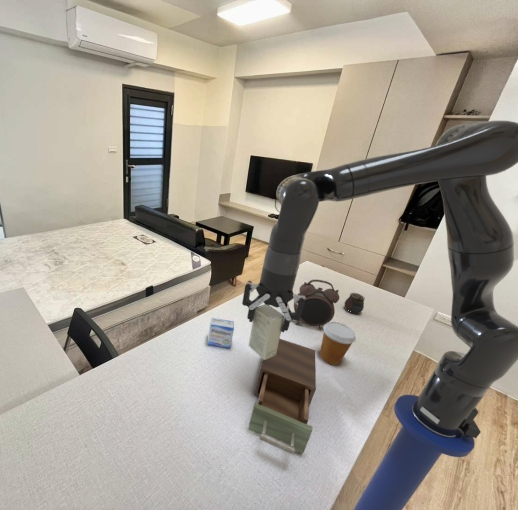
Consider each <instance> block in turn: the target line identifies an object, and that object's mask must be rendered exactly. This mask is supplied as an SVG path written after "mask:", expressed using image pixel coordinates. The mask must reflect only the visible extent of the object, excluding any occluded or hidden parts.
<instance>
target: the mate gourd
mask: <svg viewBox="0 0 518 510" xmlns="http://www.w3.org/2000/svg"><path fill="white" fill-rule="evenodd" d="M365 299H366V298H365V296H364V295H362V294H360V293H357V292H350V294H349V296H348V298H346V299H345V300H344V309H345V308H346V309H345V310H346V311H347V312H348V313H349V314H353V315H356V314H358V315H359V314H361V313H362V312H363V310H364V308H365V307H364V306H365V305H364V304H365V302H364V301H365ZM348 310H349V311H348ZM350 311H351V312H350Z"/></svg>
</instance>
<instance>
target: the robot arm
mask: <svg viewBox="0 0 518 510" xmlns="http://www.w3.org/2000/svg"><path fill="white" fill-rule="evenodd" d="M517 164H518V122H516V121H512V120H485V121H477V122H476V121H475V122H467V123H461V124H457V125H454V126H452V127H450V128H448V129H446V131H445V132H443V134H441V136H440V137H439V138H438V140H437V142H436V143H435V145H433V146H428V147H423V148H420V149H415V150H408V151H403V152H397V153H396V152H395V153H390V154H385V155H379V156H374V157H367V158H363V159H360V160H356V161H351V162H349V163H344V164H341V165H337V166H335V167H332V168H331V167H330V168H328V169H321V170H314V171H308V172H303V173H298V174H294V175H291V176H288V177H285V178H284V179H283V180H282V181H281V182H280V183H279V184H278V186H277V189H276V193H275V195H276V199H277V202H278V203H279V204H280V209H279V214H278V217H277V221H276V222H275V223H274V224H273V226H272V228H271V231H270V236H269V239H268V241H269V242H268V246H267V249H266V251H265V256H264V260H263V263H262V269H261V274H260V279H259V282H258V283H253V282H252V281H251V280H247V282H246V284H245V285H244V291H243V296H242V303H241V304H242V305H243V306H244V307H247V308H248V311H247V316H246V318H247V320H248V321H249V323H252V322H253V317H254V311H255V308H256V307H258V306H261V305H263V303H264V305H265V304H266V305H269V306H271V307H274V308H277V309H278V308H280V311H281V314H283V315H284V321H283V325H282V330H281V333H285V332H288V330H289V329H290V328H289V327H290V324H291V321H296V322H298V321H299V320H300V317H301V314H302V311H303V307H304V304H305V295H303V294H301V295H298V294H296V293H294V291H293V290H294V286H295V281H296V278H297V275H298V271H299V268H300V263H301V255H302V250H303V246H304V242H305V239H306V233H307V231H308V229H309V228H310V227H311V224H312V222H313V219H314V218H315V215H316V213H317V211H318V209H319V204H320V203H321V202H328V201H329V202H337V203H338V202H345V201H346V202H347V201H350V200H354V199H358V198H362V197H367V196H370V195H375V194H379V193H382V192H387V191H392V190H396V189H401V188H406V187H411V186H415V185H420V184H428V183H433V182H438V185H439V189H440V193H441V199H442V205H443V213H444V221H445V229H446V241H447V242H446V244H447V256H448V262H449V268H450V281H451V289H452V290H451V291H452V300H451V314H450V325H451V329H452V332H453V333H454V335H455V336H456V337H457V338H458V339H459V340H460V341H462V342H463V343H464V344H465V345H466V346H468V347H469V350H468V351H467V352H466V353H465V352H461V351H456V350H448V351H446V352H444V353H443V355H442V356H441V358H440V359H439V361H438V362H437V364H436V366H435V368H434V369H433V371H432V373H431V375H430V377H429V378H428V380H427V381H426V382H425V385H424V387H423V388H422V390H421V392H420V393H419V395H418V396H419V397H418V399H417V400H416V402H415V403H414V405H413V406H412V408H411V411H412V414H413V416H414V417H415V419H416V420H417V421H418V422H419V423H420V424H421V425H422V426H424V427H425V428H426V429H428V430H429V431H431V432H433V433H435V434H437V435H439V436H442V437H445V438H454V437H456V438H459V439H460V438H461V436H462V435H463V434H464V435H465V436H466V437H473V438H474V439H477V438H478V437H479V435H480V434H481V432H482V431H481V430H480V427H478V425H477V423H476V421H475V418H476V417H477V415H479V410H478V408H477V406H478V405H479V403H480V402H481V401H482V399H483V398H484V397H485V394H486V393H487V392H488V391H489V389H491V387H492V385H493V384H494V383H495V382H497V381H499V380H500V379H502V378H503V377H504V376H505V375H506V374H507V373H508V372H509V371H510V370H511V368H512V367H513V366H514V365H515V364H516V363H517V362H518V325H516V324H515V323H513V322H511V320H509V319H507V318H505V317H504V316H502V315H501V314H499V313H498V312H497V310H496V308H495V303H494V290H495V287H496V286H497V285H498V284H499V283H500V282H501V281H503V280H504V279H505V278H506V276H507V275H508V274H509V273H510V272H511V270H512V269H513V266H514V260H515V241H514V240H515V239H514V234H513V231H512V228H511V226H510V224H509V222H508V221H507V219H506V218H505V216H504V214H503V213H502V211H501V210H500V208H499V207H498V206H497V204H496V203H495V201H494V200H493V198H492V195H491V194H490V191H489V188H488V182H487V177H488V176H493V175H498V174H500V173H504V172H506V171H508V170H509V169H511V168H512V167H514V166H515V165H517ZM254 290H256V292H257V296H256V297H255V298H254V299H253V300H251V299H250V297H251V293H253V292H254ZM292 300H295V304H297V308H296V311H292V310H291V308H290V305H289V302H290V301H292Z"/></svg>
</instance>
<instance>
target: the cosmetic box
mask: <svg viewBox="0 0 518 510" xmlns="http://www.w3.org/2000/svg"><path fill="white" fill-rule="evenodd" d="M284 318H285V316H284V314H283V313H282V312H280V311H279V310H277V309H275V307H274V308H273V306H272V305H266V304H265V303H264V304H261V305H259V306H257V307H256V308H255V311H254V317H253V321H252V322H251V329H250V333H249V334H250V336H249V341H248V347H249V348H250V349H252V351H254V352H255V353H256V354H257V355H258V356H259V357H260V358H261V359H262V358H263V359H264V360H266V359H268V358H270V357H273V356H275V355H276V353H277V348H278V344H279V339H281V334H282V332H281V330H282V325H283V321H284Z"/></svg>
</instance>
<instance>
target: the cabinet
mask: <svg viewBox="0 0 518 510" xmlns="http://www.w3.org/2000/svg"><path fill="white" fill-rule="evenodd" d="M316 365H317V364H316V349H313V348H310V347H307V346H305V345H301V344H297V343H295V342H292V341H288V340H285V339H282V338H280V339H279V344H278V348H277V353H276V355H275V356H273V357H270V358H268V359H266V360H264V359H263V358H262V357H261V363H260V367H259V370H258V374H257V379H256V382H255V383H256V384H255V386H254V391H253V396H256V397H258V398H259V393H260V389H261V385H262V381H263V377H264V373H267V374H270V375H273V376H275V377H278V378H281V379H283V380H286V381H289V382H291V383H294V384H297V385H299V386H302V387H305V388H307V389H309V398H308V410H309V408H310V406H311V404H312V400H313V398H314V395H315V393H316V390H317V375H316V374H317V373H316V372H317V371H316V369H317V367H316Z"/></svg>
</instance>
